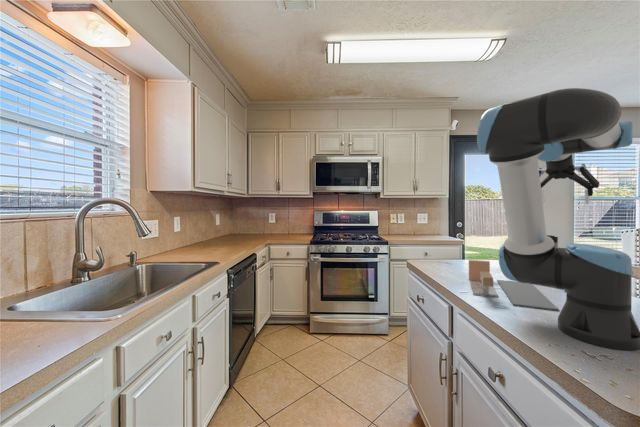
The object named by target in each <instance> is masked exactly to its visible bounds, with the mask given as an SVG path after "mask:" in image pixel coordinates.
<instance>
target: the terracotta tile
mask: <svg viewBox="0 0 640 427" xmlns="http://www.w3.org/2000/svg"><path fill="white" fill-rule="evenodd" d="M490 263H491V262H490V260H482V259H481V260H478V259H468V280H469V281H474V282H481V280H480V271H482V272H490V271H491V269H490V268H491V267H490V265H491V264H490ZM490 273H491V272H490Z"/></svg>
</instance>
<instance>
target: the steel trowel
mask: <svg viewBox="0 0 640 427" xmlns="http://www.w3.org/2000/svg"><path fill="white" fill-rule="evenodd" d="M480 280H481V281H475V280H469V284H470V288H471V292H472V295H473V296H480V297H488V298H489V297H490V298H498V299H499V294H498V292H497V290H496V289H495V287H494V277H493V276H492V274H491V272H482V271H480Z"/></svg>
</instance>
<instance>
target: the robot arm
mask: <svg viewBox="0 0 640 427" xmlns="http://www.w3.org/2000/svg"><path fill="white" fill-rule="evenodd" d="M621 115H622V108H621V105H620V103H619V100H617V98H616V97H614V96H613V95H611V94H610V93H607V92H604V91H600V90H597V89H591V88H579V87H578V88H577V87H572V88H571V87H570V88H563V89H557V90H552V91H549V92H546V93H543V94H539V95H534V96H531V97H527V98H524V99H519V100H515V101H511V102H507V103H503V104H501V105H498V106H495V107H492V108H489V109H487V110H486V111H485V112H484V113H483V114H482V115H481V118H480V119H479V122H478V125H477V133H476V143H477V148H478V150H479V152H480V153H481V154H483V155H488V159H489V161H490V163H492V164H494V165H496V166H497V170H498V177H499V182H500V189H501V195H502V202H503V207H504V208H503V209H504V214H505V220H506V226H507V227H506V228H507V233H508V237H507V238H506V239H505V240H504V241H503V242H504V243H502V244H501V245H500V247H499V251H498V265H499V268H500V271H501V273H502V274H503V276H504V277H505V278H507V279H508V280H509V281H516V282H521V283H529V284H533V285H534V286H535V285H536V286H540V287H541V286H542V287H546V288H553V289H556V290H557V289H558V290H563V291H565V290H566V292H567V293H566V292H565V293H566V300H565V302H564V304H563V306H562V308H561V310H560V313H559V315H558V317H557V327H558V329H559V330H560V331H562V332H563V333H565V334H566V335H567V336H570V337H572V338H575V339H576V340H580V341H582V342H585V343H589V344H592V345H594V346H595V345H596V346H599V347H604V348H609V349H615V350H623V351H635V350H639V349H640V328H639V326H638V324H637V322H636V318H635V317H634V316H633V311H632V294H633V292H632V289H633V288H632V287H633V286H632V277H633V275H634V271H633V262H632V258H631V257H630V255H629V254H627V253H626V252H623V251H620V250H617V249H614V248H610V247H605V246H600V245H593V244H587V243H585V244H584V243H576V242H575V243H574V242H573V243H568V244H566V246H565V247H558V248H557V247H555V245H554V241H553V239H551V238H550V237H548V236H546V235H547V228H546V222H545V212H544V203H545V201H546V200H545V195H544V188H543V187H544V186H545V185H546V184H548V183H549V182H550V181H552V179H555V180H559V179H562V180H563V179H564V180H565V179H567V178H568V179H569V180H572V181H574V182H575V183H576V184H579V185H580V186H582V187H583V188H584V198H585V205H589V204H590V197H593V194H594V191H593V190H594V189H595V188H596V189H598V188H599V186H600V182H599V181H598V180H597V178H595V176H594V175H593V174H592V173H591V172H590V171H589V170H588V169H587V167H586V164H585V163H582V164H580V165H578V166H577V165H574V162H573V161H574V160H573V155H574V154H580V153H588V152H594V151H595V152H596V151H604V150H611V149H612V150H616V149H619V148H627V147H629V146H631V145H632V144H633V139H634V138H633V134H634V130H633V129H634V127H633V122H632V121H630V120H626V121H620V118H621ZM539 161H542V162H545V165H546V166H545V167H546V168H542V167H539ZM575 171H578V173H580V174H581V175H582V176H583V177H584V178H583V177H581V176H580V175H578V174H577V173H576V172H575ZM545 173H546V174H547V176H546V177H545V178H544V179H543V180H542V181H541V176H542V175H544V174H545Z"/></svg>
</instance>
